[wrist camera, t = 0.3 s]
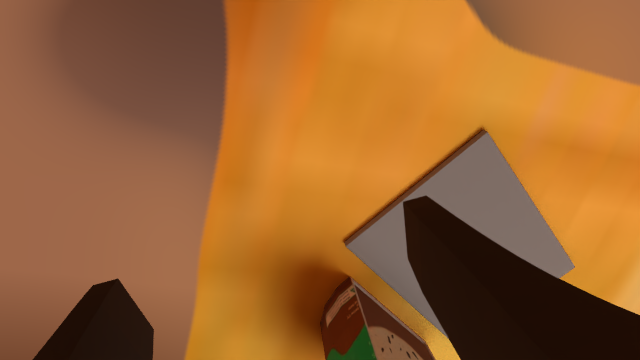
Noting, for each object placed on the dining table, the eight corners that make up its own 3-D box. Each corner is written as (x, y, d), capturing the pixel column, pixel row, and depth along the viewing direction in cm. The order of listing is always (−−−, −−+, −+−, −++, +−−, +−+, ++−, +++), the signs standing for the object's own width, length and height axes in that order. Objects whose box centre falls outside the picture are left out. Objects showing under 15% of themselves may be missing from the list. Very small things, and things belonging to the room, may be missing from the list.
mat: (456, 344, 30) (459, 348, 30) (344, 242, 23) (345, 246, 23) (570, 263, 28) (575, 267, 28) (483, 129, 22) (487, 132, 21)
